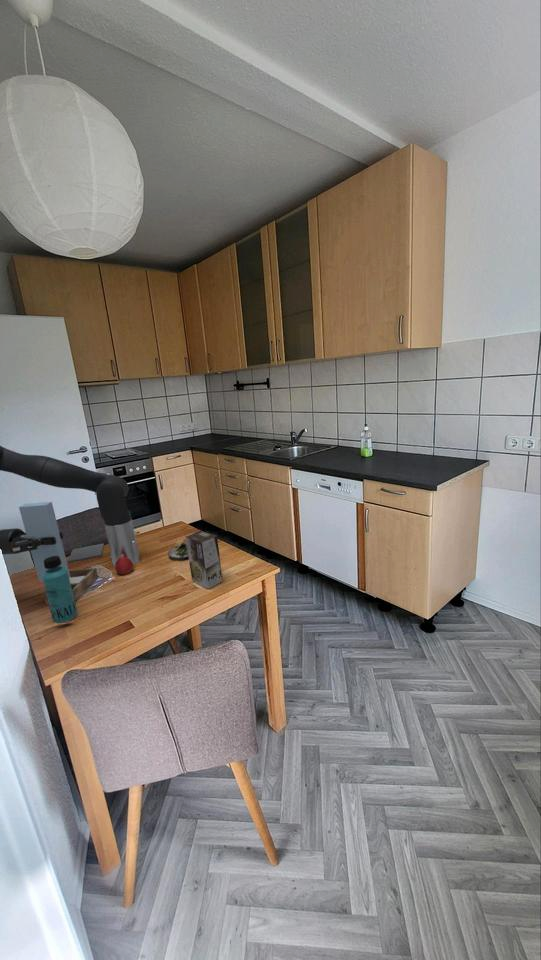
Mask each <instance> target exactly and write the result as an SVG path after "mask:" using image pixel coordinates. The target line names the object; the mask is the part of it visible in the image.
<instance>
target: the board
mask: <svg viewBox="0 0 541 960" xmlns="http://www.w3.org/2000/svg"><path fill="white" fill-rule="evenodd" d="M18 509H19V514H20V516H21V520H22V523H23V528H24V531H25V533H26V535H27V537H31V536H34V537H35V538H44V537H55V538H56V541H57V543H56V544H55V545H43V546H42V547H37V549H35V550H30V552H31V553H30V554H31V557H32V561H33V563H34V564H33V565H34V568H35V572H36V575H37V579H38V582H44V581H43V578H42V576H43V574H44V573H45V571H46V570H48V569H46V568H45V567H44V560H45V559H46V558H49V557H52V556H59V557H60V560H61V565H59V566H62V567H64V568H66V569H67V570H68V575H69V576H70V572H69V571H70V570H69V567H68V560H67V557H66V554H65V550H64V546H63V542H62V539H61V537H60V533H59V532H60V529H59V526H58V521H57V517H56V514H55V510H54V506H53V501H44V502H43V501H42V502H33V503H32V502H31V503H24V504H22V505H20V506H18ZM31 546H32V545H31Z"/></svg>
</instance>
